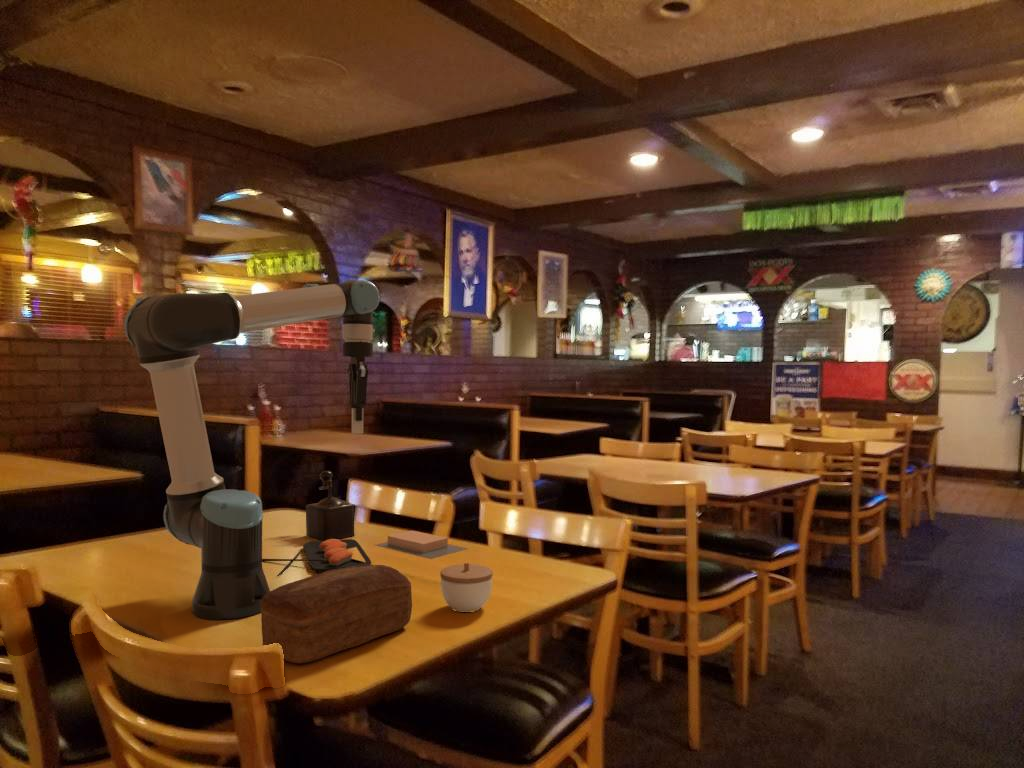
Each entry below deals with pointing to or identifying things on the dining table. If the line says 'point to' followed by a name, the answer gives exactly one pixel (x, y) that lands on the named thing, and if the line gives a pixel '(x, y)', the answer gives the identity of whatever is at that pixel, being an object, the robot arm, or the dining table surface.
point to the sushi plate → (329, 555)
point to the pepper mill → (329, 515)
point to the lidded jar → (466, 586)
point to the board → (429, 555)
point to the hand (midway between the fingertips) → (357, 433)
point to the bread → (335, 611)
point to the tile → (417, 541)
